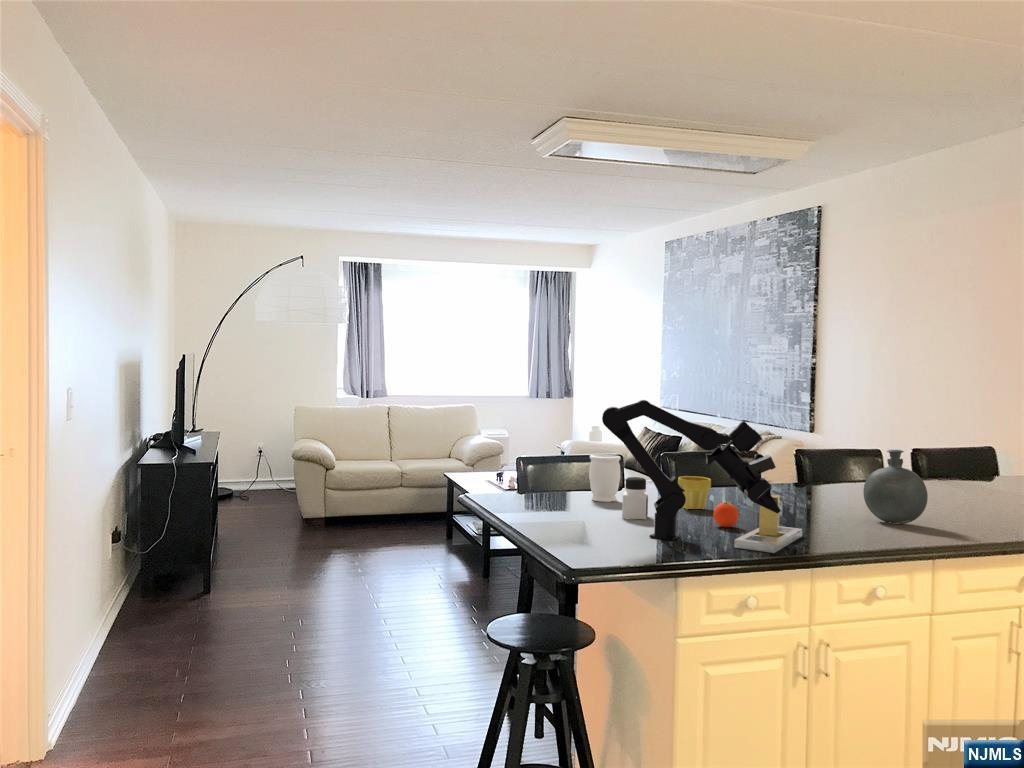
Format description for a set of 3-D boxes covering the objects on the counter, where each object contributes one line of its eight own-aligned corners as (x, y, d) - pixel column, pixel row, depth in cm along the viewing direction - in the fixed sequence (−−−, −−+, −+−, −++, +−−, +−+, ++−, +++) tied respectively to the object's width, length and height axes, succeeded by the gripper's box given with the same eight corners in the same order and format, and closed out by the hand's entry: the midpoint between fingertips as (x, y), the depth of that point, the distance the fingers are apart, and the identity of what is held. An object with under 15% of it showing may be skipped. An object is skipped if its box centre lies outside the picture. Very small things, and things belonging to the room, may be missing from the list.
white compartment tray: (774, 553, 208) (774, 544, 208) (734, 547, 214) (734, 539, 214) (802, 536, 230) (802, 528, 230) (765, 531, 236) (765, 524, 236)
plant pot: (717, 510, 269) (717, 479, 269) (689, 512, 265) (689, 480, 265) (698, 505, 279) (699, 475, 279) (671, 506, 275) (671, 476, 275)
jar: (582, 498, 288) (583, 454, 287) (609, 497, 292) (610, 453, 292) (599, 503, 278) (599, 457, 278) (625, 502, 283) (626, 457, 282)
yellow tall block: (776, 544, 219) (778, 497, 219) (758, 542, 221) (759, 496, 221) (778, 540, 223) (779, 495, 223) (760, 539, 225) (761, 494, 225)
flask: (883, 517, 262) (885, 446, 262) (932, 527, 247) (934, 451, 246) (856, 520, 257) (858, 447, 256) (905, 530, 242) (907, 453, 241)
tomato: (721, 523, 247) (722, 499, 247) (744, 526, 243) (744, 501, 242) (708, 527, 241) (709, 502, 241) (731, 530, 236) (732, 505, 236)
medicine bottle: (646, 520, 250) (647, 479, 249) (622, 519, 251) (622, 478, 251) (647, 516, 257) (648, 476, 256) (623, 514, 258) (624, 475, 258)
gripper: (762, 447, 213) (807, 493, 212) (750, 441, 231) (791, 483, 230) (729, 478, 214) (773, 523, 213) (720, 469, 232) (760, 511, 231)
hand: (775, 509), depth 222 cm, fingers open, 9 cm apart
